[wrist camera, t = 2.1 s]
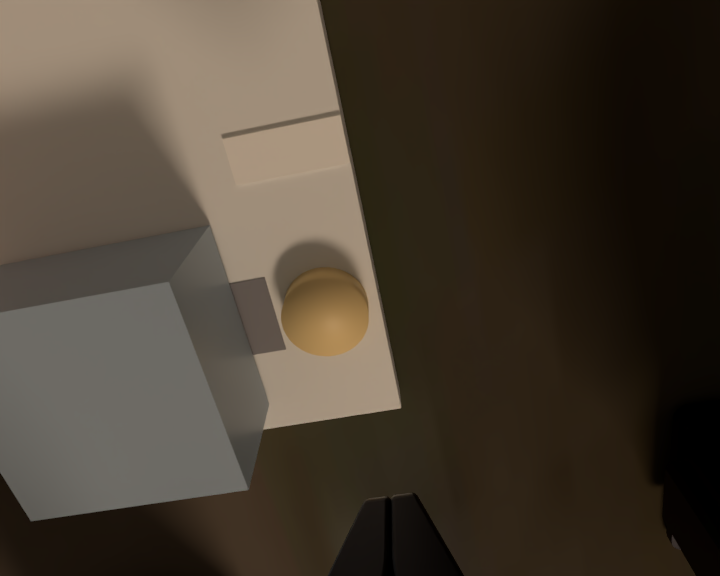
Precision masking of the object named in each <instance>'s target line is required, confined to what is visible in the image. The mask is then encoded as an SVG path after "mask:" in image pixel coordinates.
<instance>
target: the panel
mask: <svg viewBox="0 0 720 576" xmlns="http://www.w3.org/2000/svg"><path fill="white" fill-rule="evenodd" d="M208 225H210V228H211V231H212V234H213V237H214V240H215V243H216V246H217V249H218V252H219V255H220V258H221V261H222V264H223V267H224V270H225V273H226V276H227V279H228V282H229V285H230V288H231V291H232V294H233V297H234V300H235V303H236V306H237V309H238V312H239V315H240V318H241V321H242V324H243V327H244V330H245V333H246V336H247V339H248V342H249V345H250V348H251V351H252V354H253V357H254V360H255V363H256V366H257V369H258V372H259V375H260V378H261V381H262V384H263V387H264V390H265V393H266V396H267V399H268V402H269V408H268V412H267V416H266V420H265V424H264V428H263V429H269V428H276V427H282V426H289V425H295V424H302V423H308V422H315V421H321V420H328V419H334V418H341V417H347V416H354V415H360V414H367V413H373V412H379V411H386V410H392V409H399V408H401V400H400V389H399V384H398V379H397V374H396V369H395V365H394V360H393V355H392V350H391V345H390V340H389V335H388V330H387V325H386V321H385V316H384V311H383V306H382V301H381V296H380V291H379V286H378V282H377V277H376V272H375V267H374V262H373V257H372V252H371V247H370V242H369V238H368V233H367V228H366V223H365V218H364V213H363V208H362V203H361V199H360V194H359V189H358V184H357V179H356V174H355V169H354V164H353V159H352V155H351V150H350V145H349V140H348V135H347V130H346V125H345V120H344V116H343V111H342V106H341V101H340V96H339V91H338V86H337V81H336V76H335V72H334V67H333V62H332V57H331V52H330V47H329V42H328V37H327V32H326V28H325V23H324V18H323V13H322V8H321V3H320V0H0V265H3V264H8V263H14V262H19V261H24V260H29V259H35V258H40V257H45V256H50V255H56V254H61V253H66V252H71V251H77V250H82V249H87V248H92V247H98V246H103V245H108V244H113V243H119V242H124V241H129V240H134V239H140V238H145V237H150V236H155V235H161V234H166V233H171V232H176V231H182V230H187V229H192V228H197V227H203V226H208Z"/></svg>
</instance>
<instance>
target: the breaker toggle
mask: <svg viewBox="0 0 720 576" xmlns="http://www.w3.org/2000/svg"><path fill="white" fill-rule="evenodd" d="M268 408H269V402H268V399H267V396H266V393H265V390H264V387H263V384H262V381H261V378H260V375H259V372H258V369H257V366H256V363H255V360H254V357H253V354H252V351H251V348H250V345H249V342H248V339H247V336H246V333H245V330H244V327H243V324H242V321H241V318H240V315H239V312H238V309H237V306H236V303H235V300H234V297H233V294H232V291H231V288H230V285H229V282H228V279H227V276H226V273H225V270H224V267H223V264H222V261H221V258H220V255H219V252H218V249H217V246H216V243H215V240H214V237H213V234H212V231H211V228H210V225H208V226H203V227H197V228H192V229H187V230H182V231H176V232H171V233H166V234H161V235H155V236H150V237H145V238H140V239H134V240H129V241H124V242H119V243H113V244H108V245H103V246H98V247H92V248H87V249H82V250H77V251H71V252H66V253H61V254H56V255H50V256H45V257H40V258H35V259H29V260H24V261H19V262H14V263H8V264H3V265H0V473H1V475H2V476H3V478H4V479H5V481H6V483H7V484H8V486H9V487H10V489H11V491H12V492H13V494H14V495H15V497H16V498H17V500H18V502H19V503H20V505H21V506H22V508H23V510H24V511H25V513H26V514H27V516H28V517H29V519H30V521H37V520H43V519H50V518H57V517H64V516H71V515H78V514H85V513H92V512H99V511H106V510H113V509H119V508H126V507H133V506H140V505H147V504H154V503H161V502H168V501H175V500H182V499H188V498H195V497H202V496H209V495H216V494H223V493H230V492H237V491H244V490H249V486H250V482H251V478H252V474H253V470H254V466H255V461H256V457H257V453H258V449H259V445H260V441H261V437H262V432H263V428H264V424H265V420H266V416H267V412H268Z"/></svg>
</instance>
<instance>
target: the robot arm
mask: <svg viewBox="0 0 720 576" xmlns="http://www.w3.org/2000/svg"><path fill="white" fill-rule="evenodd" d="M692 418H694V419H693V420H692V421H689V420H690V419H692ZM688 421H689V422H688ZM663 520H664V522H665V524H666V525H667V531H666V533H667V537H668V539H669V540H670V542H671V544H672V545H673V546H674V547H675V548H677V549H681V551H682V552H683V554H684V556H685V558H686V559H687V561H688V563H689V564H690V566H691V568H692V569H693V571H694V573H695V575H696V576H720V399H719V400H712V401H706V402H699V403H692V404H687V405H684V406H682V407H680V408H679V409H677V411H676V412H675V413H674V415H673V421H672V439H671V458H670V462H669V463H668V465H667V467H666V469H665V477H664V497H663ZM328 576H464V575H463V573H462V571H461V570H460V568H459V566H458V564H457V563H456V561H455V559H454V558H453V556H452V554H451V552H450V551H449V549H448V547H447V546H446V544H445V542H444V540H443V539H442V537H441V535H440V533H439V532H438V530H437V528H436V527H435V525H434V523H433V521H432V520H431V518H430V516H429V515H428V513H427V511H426V509H425V508H424V506H423V504H422V503H421V501H420V499H419V497H418V496H417V495H416V494H415V493H406V494H399V495H394V496H392V498H391V499H390V498H389V497H387V496H385V497H377V498H370V499H367V500H365V501H364V503H363V505H362V507H361V509H360V511H359V513H358V515H357V517H356V519H355V521H354V523H353V525H352V527H351V529H350V531H349V533H348V535H347V537H346V539H345V541H344V543H343V545H342V548H341V550H340V552H339V554H338V556H337V558H336V560H335V562H334V564H333V566H332V568H331V570H330V572H329V574H328Z"/></svg>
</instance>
